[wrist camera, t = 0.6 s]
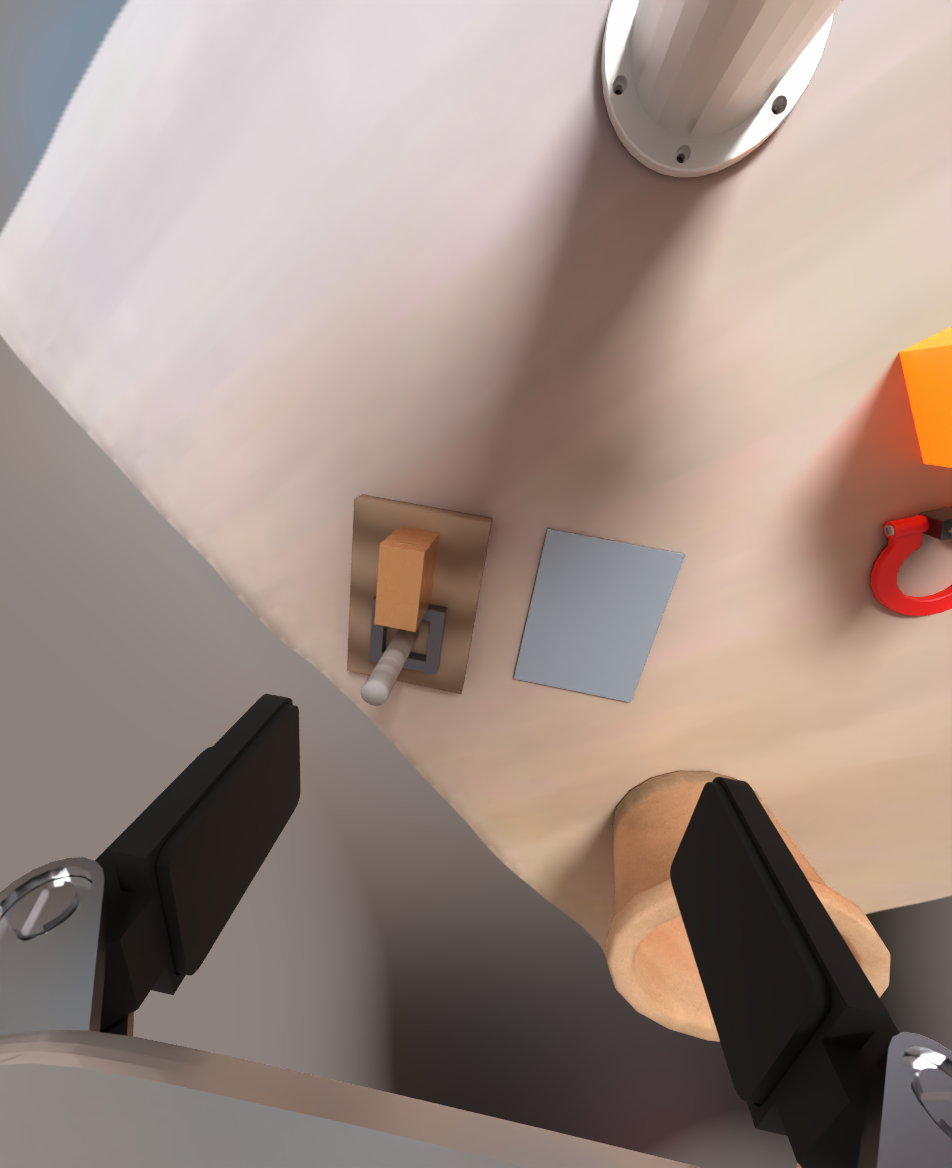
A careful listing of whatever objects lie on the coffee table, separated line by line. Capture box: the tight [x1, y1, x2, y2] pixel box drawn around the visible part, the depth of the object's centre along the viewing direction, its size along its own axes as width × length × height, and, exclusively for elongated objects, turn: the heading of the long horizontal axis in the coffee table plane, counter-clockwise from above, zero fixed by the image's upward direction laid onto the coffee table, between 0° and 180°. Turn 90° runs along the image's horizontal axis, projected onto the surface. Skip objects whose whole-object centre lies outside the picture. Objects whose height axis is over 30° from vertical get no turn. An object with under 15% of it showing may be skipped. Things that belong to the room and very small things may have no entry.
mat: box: [514, 529, 685, 702], centre depth 41 cm, size 16×12×1 cm
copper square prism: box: [369, 526, 448, 675], centre depth 38 cm, size 14×7×6 cm, turn 171°
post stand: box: [347, 495, 492, 706], centre depth 37 cm, size 18×12×12 cm, turn 171°
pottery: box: [605, 771, 890, 1041], centre depth 43 cm, size 22×22×14 cm
